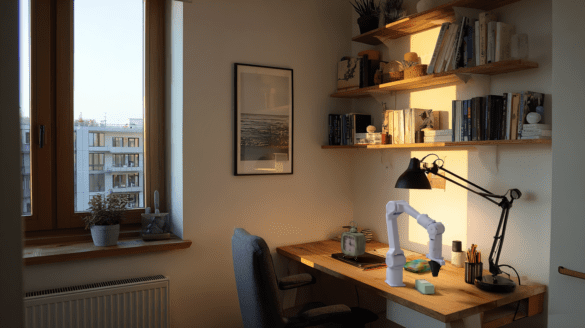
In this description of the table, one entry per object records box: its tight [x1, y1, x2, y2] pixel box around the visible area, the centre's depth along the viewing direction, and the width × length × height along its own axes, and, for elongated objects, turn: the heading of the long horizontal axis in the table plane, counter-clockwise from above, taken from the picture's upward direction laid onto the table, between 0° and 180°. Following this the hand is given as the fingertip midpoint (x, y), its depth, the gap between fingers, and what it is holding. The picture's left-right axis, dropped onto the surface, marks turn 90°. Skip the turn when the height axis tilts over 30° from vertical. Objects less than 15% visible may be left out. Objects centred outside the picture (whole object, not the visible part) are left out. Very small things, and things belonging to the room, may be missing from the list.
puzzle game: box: [403, 258, 431, 274], centre depth 246 cm, size 12×5×20 cm
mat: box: [412, 286, 436, 295], centre depth 208 cm, size 10×7×1 cm
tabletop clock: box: [340, 220, 367, 260], centre depth 267 cm, size 14×9×25 cm, turn 37°
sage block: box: [414, 278, 435, 295], centre depth 207 cm, size 4×5×10 cm
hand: (434, 276), depth 197 cm, fingers closed
